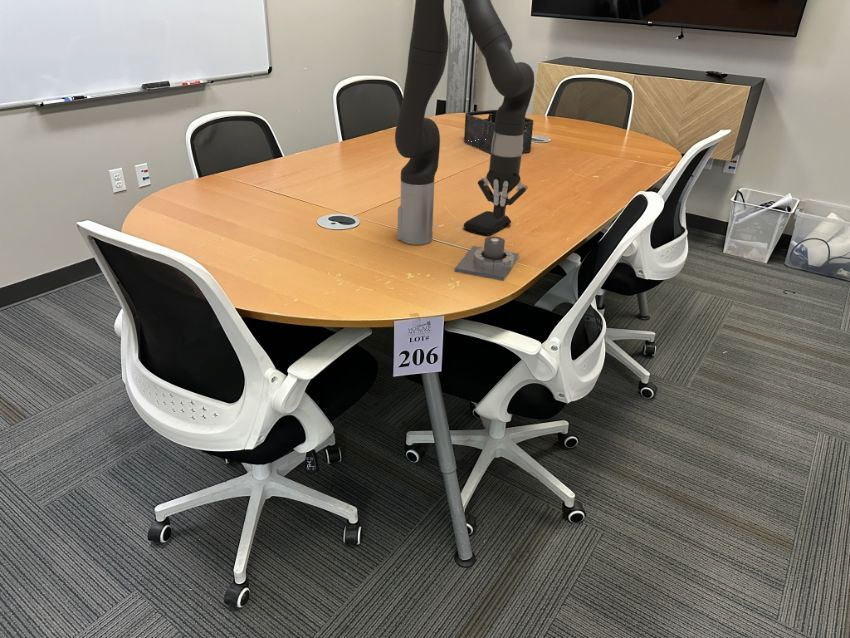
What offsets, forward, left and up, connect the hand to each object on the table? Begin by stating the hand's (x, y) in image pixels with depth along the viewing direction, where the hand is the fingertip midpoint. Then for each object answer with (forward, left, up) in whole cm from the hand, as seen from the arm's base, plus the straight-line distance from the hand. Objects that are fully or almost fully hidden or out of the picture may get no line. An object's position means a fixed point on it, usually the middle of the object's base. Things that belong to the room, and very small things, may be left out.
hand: (498, 218), depth 158 cm
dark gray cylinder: (0, -3, -11) cm, 11 cm away
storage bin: (-32, +119, -12) cm, 124 cm away
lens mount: (-1, -3, -12) cm, 12 cm away
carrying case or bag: (-8, +23, -13) cm, 28 cm away
